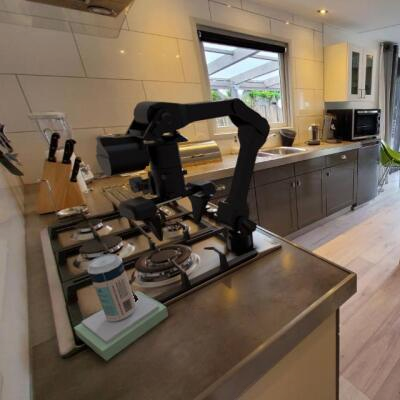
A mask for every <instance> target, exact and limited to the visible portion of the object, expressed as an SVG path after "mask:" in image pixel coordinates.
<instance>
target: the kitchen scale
mask: <svg viewBox="0 0 400 400" xmlns="http://www.w3.org/2000/svg"><path fill="white" fill-rule="evenodd" d="M133 292H134V293H135V295H136V296H137V298H138V300H137V301H136V304H137V307H136V309H135V310H134V312H133V313H132V314H130V315H129V316H127V317H125V318H123V319H121V320H117V321H109V320H107V319H106V315H105V313H104V310H103V308H102V309H100V310H99V311H97V312H95V313H94V314H92V315H89V316H88V317H87V318H85V319H83V320H82V321H81V322H80V323H79V324H77V325H76V326H74V327H73V329H74V331H75V333H76V336H77V337H78V338H79V339H80V340H81V341H82V342H84V344H86V346H87V347H89V348H90V349H92V350H93V351H94V352H95V353H96V354H98V355H99V356H100V357H101V358H102V359H104V360H105V362H108V361H109V360H111V358H113V357H115V356H116V355H117V354H119V353H120V352H121V351H122V350H124V349H125V348H127V347H128V346H129V345H131V344H132V343H134V342H135V341H136V340H137V339H139V338H140V337H142V336H143V335H145V334H146V333H147V332H148V331H150V330H151V329H152V328H154V327H155V326H157V325H158V324H159V323H161V322H162V321H163V320H165V319H166V318H168V317H169V312H168V308H167V306H165V305H164V304H163V303H162V302H160V301H158V300H156V299H155V298H153V297H151V296H150V295H147V294H145V293H143V292H141V291H139V290H136V291H133Z"/></svg>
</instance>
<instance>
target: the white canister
mask: <svg viewBox="0 0 400 400" xmlns="http://www.w3.org/2000/svg"><path fill="white" fill-rule="evenodd" d="M124 265H125V264H124V263H123V259H122V258H121V257H120V256H118V254H116V253H115V254H114V253H108V254H103V255H99V256H98V257H96V258H93V259H92V260H91V261H90V262H89V263H88V266H87V269H86V270H87V273H88V275H89V277H90V279H91V280H90V281H91V282H92V285H93V287H94V290H95V292H96V295H97V297H98V300H99V303H100V305H101V307H102V309H103V310H104V313H105V315H106V319H107V320H109V321H117V320H121V319H123V318H125V317H127V316H129V315H130V314H132V313H133V312H134V310H135V309H136V307H137V304H136V302H135V299H134V296H133V293H132V292H133V290H132V288H131V283H130V282H129V278H128V275H127V271H126V268H125V266H124Z"/></svg>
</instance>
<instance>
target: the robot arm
mask: <svg viewBox="0 0 400 400" xmlns="http://www.w3.org/2000/svg"><path fill="white" fill-rule="evenodd" d="M132 115H133V118H132V120H131V122H130V124H129V126H128V128H127V130H126V132H125V134H124V135H118V136H117V135H115V136H106V135H102V136H96V137H95V140H96V147H95V151H96V154H95V158H96V161H97V163H98V166H99V168H100V170H101V171H102V172H103V174H104V175H105V176H106V177H107V178H108V177H113V176H119V175H124V174H130V173H136V172H141V171H145V170H146V168H147V167H150V170H147V177H146V178H143V177H142V176H141V175H139V176H133V177H130V178H128V184H129V187H130V190H131V192H132V193H134V194H137V193H142V195H143V196H145V195H150V196H156V197H153V198H149V199H148V198H145V197H142V196H137V197H133V198H130V199H126V200H123V201H121V202H120V203H119V205H118V211H119V215H120V217H124V218H126V219H128V220H132V221H134V222H141V223H143V224H144V225H145V226H146V227H147V228H148V230H149V231H150V232H151V233H152V235H154V237H155V238H156V240H157V241H159V242H164V232H163V226H162V219H161V215H160V214H157V212H158V208H159V207H161V206H164V205H167V204H170V203H173V202H176V201H179V200H182V199H185V198H188V200H189V202H190V205H191V210H192V217H193V220H194V224H195V225H200V223H201V221H202V218H203V215H204V213H205V210H206V208H207V206H208V204H209V202H210V199H212V198H213V195H215V194H216V193H217V188H216V185H215V183H214V182H213V181H210V180H205V179H201V178H199V179H196V180H195V179H194V180H192V181H188V182H187V183H186V180H185V179H186V178H185V176H187V175H188V169H185V168H183V164H182V158H181V153H180V152H181V151H180V147H179V144H180V143H188V142H189V138H188V137H186V136H185V135H183V134H182V133H181V132H180V131H179V130H181V129H184V128H185V127H187V126H188V125H190V124H192V123H195V122H203V121H207V120H212V119H213V120H214V119H219V118H224V117H227V118H229V121H230V122H231V124H232V125H234V126H235V127H236V128H237V135H236V136H237V139H238V142H239V150H238V154H237V158H236V163H235V167H234V171H233V175H232V180H231V184H230V188H229V192H228V196H227V197H226V198H225V200H223V201H222V200H219V201H218V203H217V210H216V212H215V216H216V222H217V224H219V226H222V228H223V229H224V230H227V236H226V243H227V248H228V251H230V252H231V253H233V254H234V256H236V257H238V256H240V255H244V254H246V253H248V252H252V251H253V250H256V249H257V245H255V244H254V234H253V233H254V232H256V231H257V226H258V224H257V222H255V221H253V220H251V219H250V218H249V217H250V209H249V204H248V196H249V193H250V189H251V188H250V187H251V183H252V178H253V174H254V170H255V166H256V161H257V158H258V153H259V151H260V149H262V147H263V146H264V145H265V144H266V143H267V141H268V137H269V134H270V131H271V125H270V124H269V120H267V118H265V117H264V116H262V115H261V113H259V112H258V111H256V110H254V109H253V108H252V107H250V106H248V105H247V103H246V102H244V101H243V100H242V99H240V98H238V97H225V98H222V99H214V100H212V99H211V100H204V101H195V102H185V103H181V102H180V103H179V102H171V101H151V100H144V101H139V102H138V103H136V106H135V107H134V108H133V114H132Z"/></svg>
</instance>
